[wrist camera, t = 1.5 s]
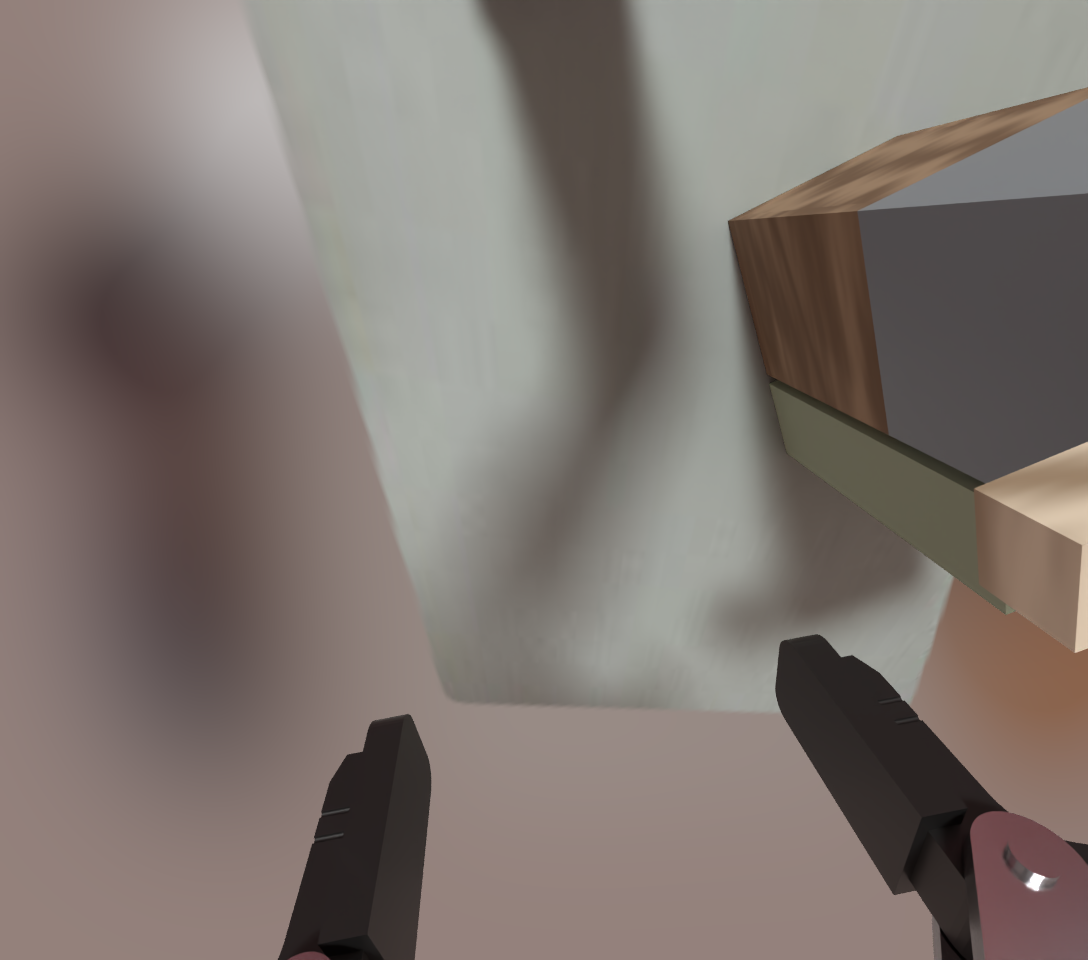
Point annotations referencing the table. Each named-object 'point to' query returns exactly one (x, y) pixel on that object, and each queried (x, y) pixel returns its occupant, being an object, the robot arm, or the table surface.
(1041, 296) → the block
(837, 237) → the walnut crate
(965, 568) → the olive box
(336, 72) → the table surface
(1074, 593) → the birch slat
